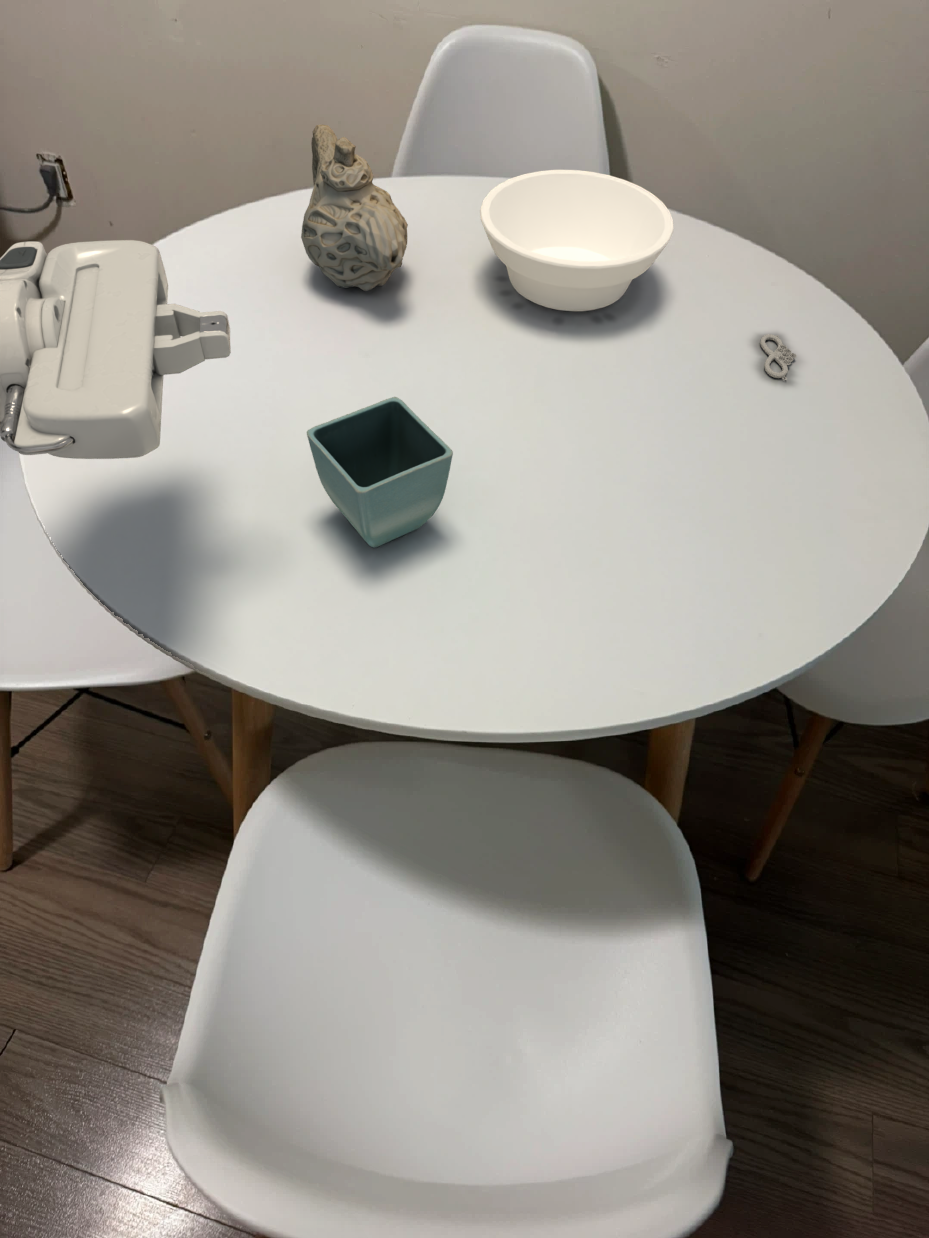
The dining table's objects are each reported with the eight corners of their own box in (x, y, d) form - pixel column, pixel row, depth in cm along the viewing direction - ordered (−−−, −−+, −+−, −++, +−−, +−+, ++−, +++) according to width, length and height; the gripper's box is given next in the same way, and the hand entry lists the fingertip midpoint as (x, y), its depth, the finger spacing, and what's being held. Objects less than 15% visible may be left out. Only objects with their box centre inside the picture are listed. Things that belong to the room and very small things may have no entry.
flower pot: (399, 473, 81) (396, 393, 74) (453, 531, 76) (456, 452, 69) (314, 510, 77) (303, 429, 70) (366, 573, 73) (359, 494, 66)
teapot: (440, 311, 97) (441, 172, 85) (342, 335, 94) (329, 194, 82) (366, 221, 109) (359, 88, 97) (277, 240, 105) (258, 104, 93)
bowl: (451, 250, 105) (453, 181, 99) (610, 226, 110) (622, 159, 103) (516, 351, 93) (523, 279, 86) (691, 319, 98) (710, 249, 91)
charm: (759, 330, 96) (792, 333, 95) (758, 334, 96) (790, 337, 96) (767, 374, 91) (801, 378, 91) (765, 379, 91) (800, 382, 91)
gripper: (-28, 412, 50) (221, 389, 51) (19, 229, 62) (219, 215, 64) (15, 493, 55) (240, 470, 56) (51, 308, 67) (235, 294, 69)
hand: (229, 333), depth 60 cm, fingers closed
